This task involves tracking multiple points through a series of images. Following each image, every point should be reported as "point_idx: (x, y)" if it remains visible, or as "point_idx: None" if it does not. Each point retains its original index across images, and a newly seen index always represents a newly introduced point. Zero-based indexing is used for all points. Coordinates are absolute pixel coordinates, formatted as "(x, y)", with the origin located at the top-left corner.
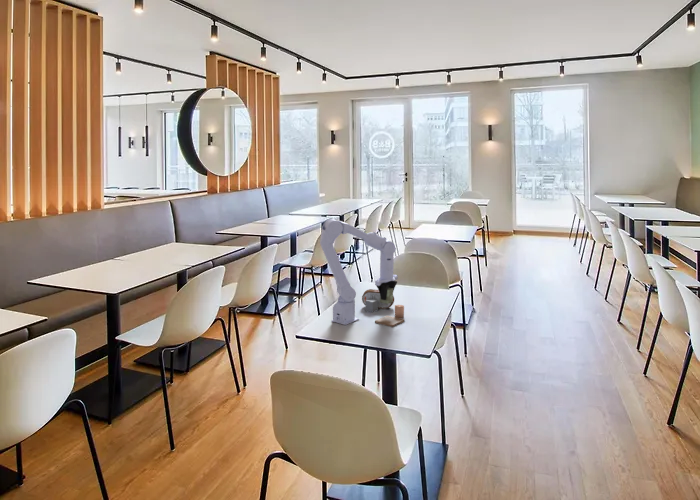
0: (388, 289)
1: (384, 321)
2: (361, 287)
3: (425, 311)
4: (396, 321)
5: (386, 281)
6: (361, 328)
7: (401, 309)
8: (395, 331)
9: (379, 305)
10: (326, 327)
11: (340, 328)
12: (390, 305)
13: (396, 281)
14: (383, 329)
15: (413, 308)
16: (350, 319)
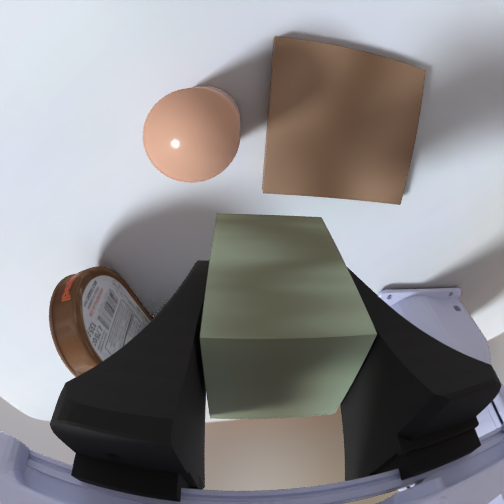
0: (316, 354)
1: (390, 146)
2: (50, 416)
3: (8, 74)
4: (351, 70)
5: (485, 474)
6: (480, 213)
7: (217, 94)
8: (462, 38)
9: (141, 320)
10: (480, 316)
11: (487, 279)
12: (102, 272)
13: (65, 430)
14: (466, 108)
15: (10, 163)
16: (433, 302)
